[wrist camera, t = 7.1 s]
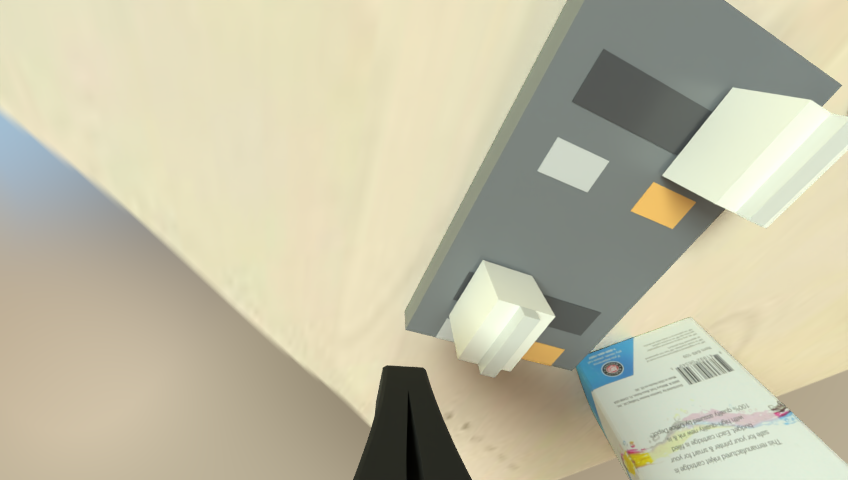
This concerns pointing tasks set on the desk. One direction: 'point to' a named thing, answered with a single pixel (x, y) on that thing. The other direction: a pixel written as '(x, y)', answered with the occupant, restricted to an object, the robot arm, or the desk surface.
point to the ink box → (697, 413)
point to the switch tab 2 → (760, 153)
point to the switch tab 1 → (498, 318)
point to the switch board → (604, 162)
